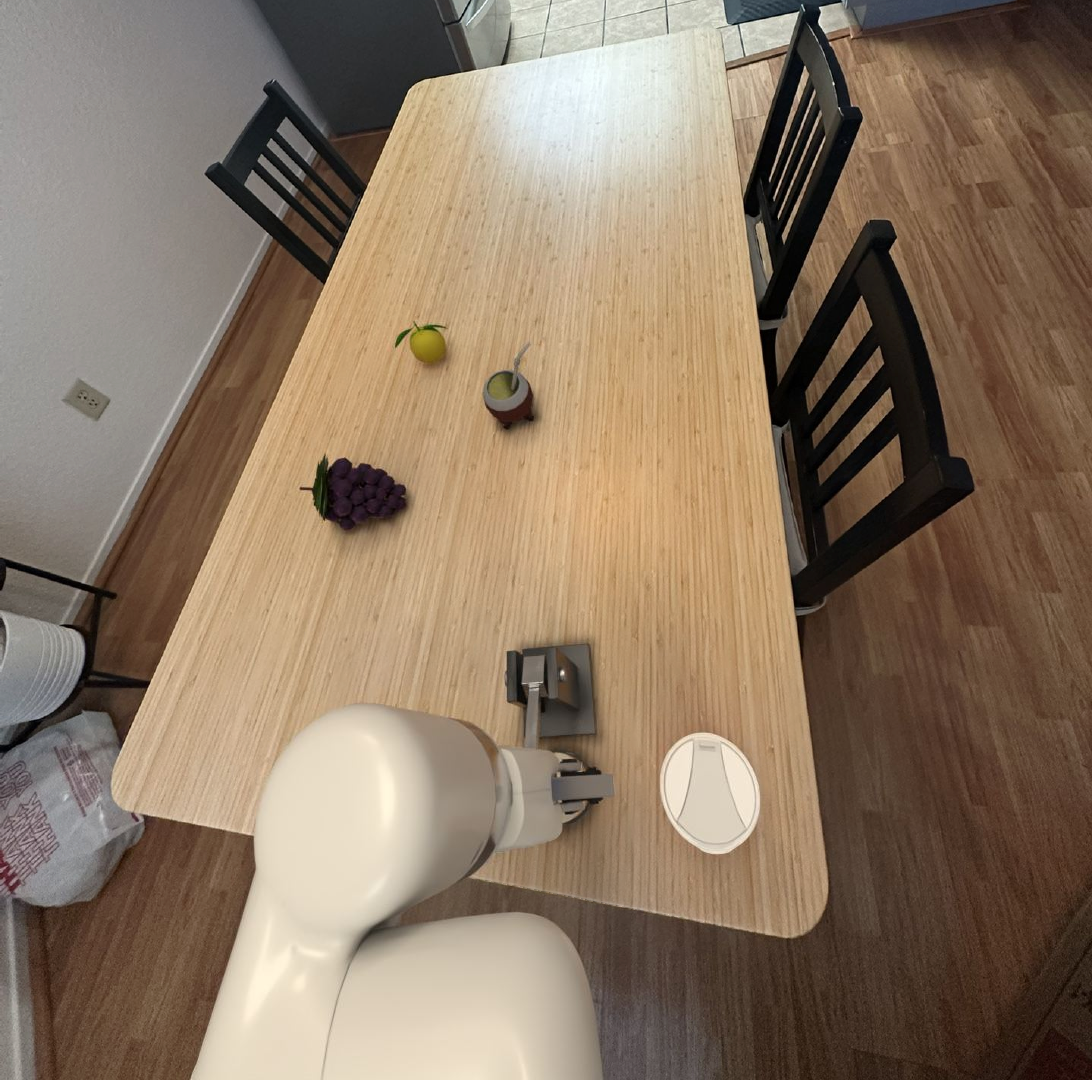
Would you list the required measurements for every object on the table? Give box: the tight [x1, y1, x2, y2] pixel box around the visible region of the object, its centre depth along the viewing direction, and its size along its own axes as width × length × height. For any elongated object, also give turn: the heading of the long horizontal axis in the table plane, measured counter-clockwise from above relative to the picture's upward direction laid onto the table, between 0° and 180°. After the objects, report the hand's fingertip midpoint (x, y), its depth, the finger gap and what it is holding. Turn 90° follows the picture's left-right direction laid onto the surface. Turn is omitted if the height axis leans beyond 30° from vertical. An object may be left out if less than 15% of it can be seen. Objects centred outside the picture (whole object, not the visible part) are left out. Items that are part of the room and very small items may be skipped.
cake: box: [552, 750, 591, 825], centre depth 64 cm, size 6×6×4 cm
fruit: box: [299, 452, 407, 532], centre depth 85 cm, size 10×11×15 cm
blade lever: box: [521, 655, 548, 749], centre depth 56 cm, size 12×5×2 cm, turn 3°
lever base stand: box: [503, 643, 598, 739], centre depth 65 cm, size 9×8×15 cm
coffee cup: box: [659, 732, 761, 855], centre depth 57 cm, size 8×8×15 cm
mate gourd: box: [482, 341, 535, 431], centre depth 86 cm, size 8×8×15 cm
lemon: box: [394, 320, 449, 364], centre depth 97 cm, size 7×6×10 cm
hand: (512, 787), depth 47 cm, fingers open, 9 cm apart
